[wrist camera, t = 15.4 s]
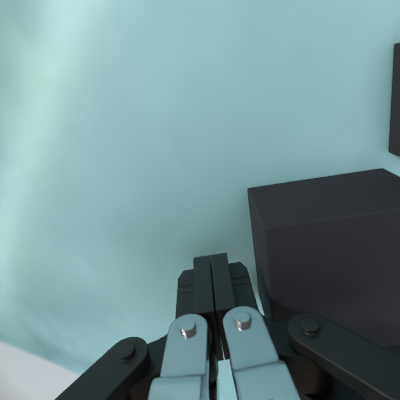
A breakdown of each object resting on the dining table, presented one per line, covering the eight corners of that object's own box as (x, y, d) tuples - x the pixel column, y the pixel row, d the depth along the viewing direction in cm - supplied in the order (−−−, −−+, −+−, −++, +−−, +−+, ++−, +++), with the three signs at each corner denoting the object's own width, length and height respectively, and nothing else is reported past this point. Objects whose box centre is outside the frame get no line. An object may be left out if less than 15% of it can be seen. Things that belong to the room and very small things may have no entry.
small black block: (258, 294, 16) (275, 359, 13) (247, 187, 14) (263, 227, 10) (376, 279, 16) (429, 341, 12) (383, 167, 14) (450, 201, 10)
